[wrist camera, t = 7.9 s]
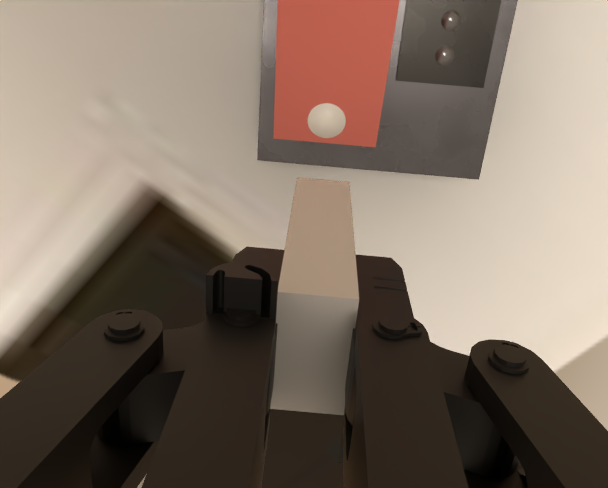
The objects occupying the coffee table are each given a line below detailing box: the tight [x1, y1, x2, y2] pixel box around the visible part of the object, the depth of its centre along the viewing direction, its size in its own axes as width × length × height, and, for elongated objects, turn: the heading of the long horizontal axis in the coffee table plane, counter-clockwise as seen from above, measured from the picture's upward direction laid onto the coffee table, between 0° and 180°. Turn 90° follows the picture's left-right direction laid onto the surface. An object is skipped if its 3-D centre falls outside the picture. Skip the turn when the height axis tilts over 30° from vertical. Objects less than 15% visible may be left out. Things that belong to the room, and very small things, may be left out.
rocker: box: [273, 0, 400, 147], centre depth 25 cm, size 10×5×2 cm, turn 175°
